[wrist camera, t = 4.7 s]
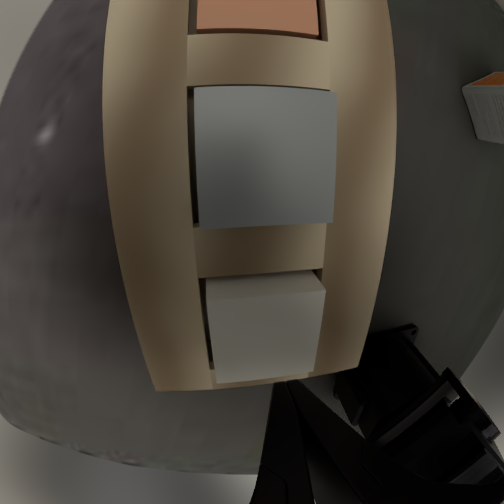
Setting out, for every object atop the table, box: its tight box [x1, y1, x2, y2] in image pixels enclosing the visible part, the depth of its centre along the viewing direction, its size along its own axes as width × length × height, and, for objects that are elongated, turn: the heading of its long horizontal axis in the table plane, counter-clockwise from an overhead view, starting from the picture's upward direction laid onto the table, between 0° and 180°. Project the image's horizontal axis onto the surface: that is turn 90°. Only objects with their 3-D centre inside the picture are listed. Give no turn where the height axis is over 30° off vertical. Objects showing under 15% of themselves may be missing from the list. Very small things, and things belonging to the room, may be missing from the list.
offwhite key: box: [206, 269, 326, 384], centre depth 12 cm, size 4×4×2 cm
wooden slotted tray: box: [102, 0, 397, 391], centre depth 11 cm, size 11×22×4 cm, turn 0°
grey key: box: [194, 86, 337, 230], centre depth 9 cm, size 4×4×2 cm
